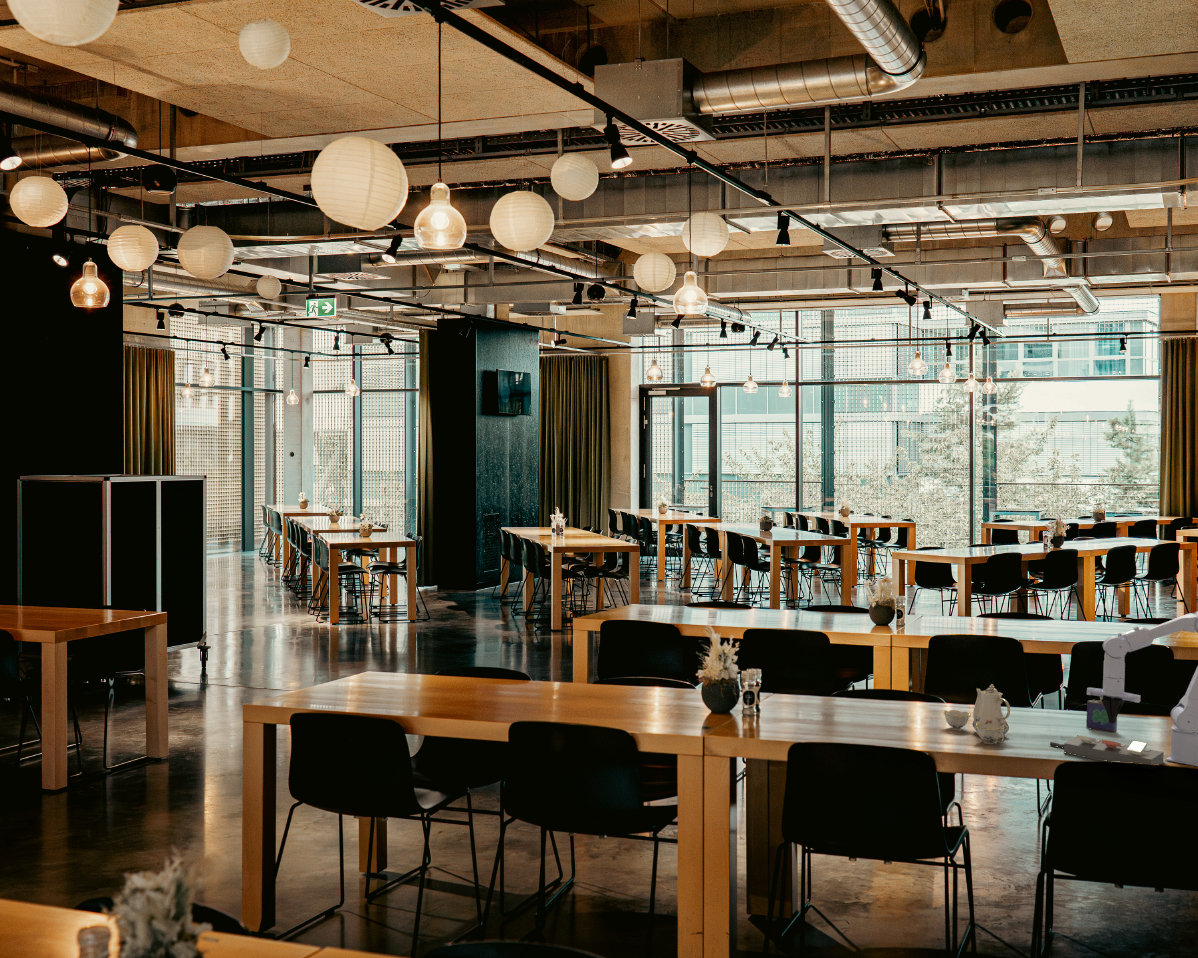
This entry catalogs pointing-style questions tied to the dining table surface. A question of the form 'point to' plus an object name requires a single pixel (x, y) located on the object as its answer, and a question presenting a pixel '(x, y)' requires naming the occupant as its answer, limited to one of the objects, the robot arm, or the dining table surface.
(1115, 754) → the power strip
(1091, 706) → the dark blue box
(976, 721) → the chinaware
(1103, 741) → the rocker middle
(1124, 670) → the robot arm
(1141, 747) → the rocker
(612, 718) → the dining table surface
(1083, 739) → the rocker
